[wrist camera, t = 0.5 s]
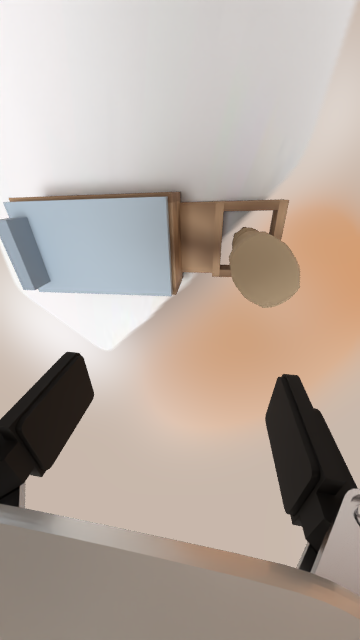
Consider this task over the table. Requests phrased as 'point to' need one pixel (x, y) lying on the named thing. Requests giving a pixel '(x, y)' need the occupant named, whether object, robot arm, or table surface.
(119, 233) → the lid
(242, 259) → the handle
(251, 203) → the toolbox
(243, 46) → the table surface
